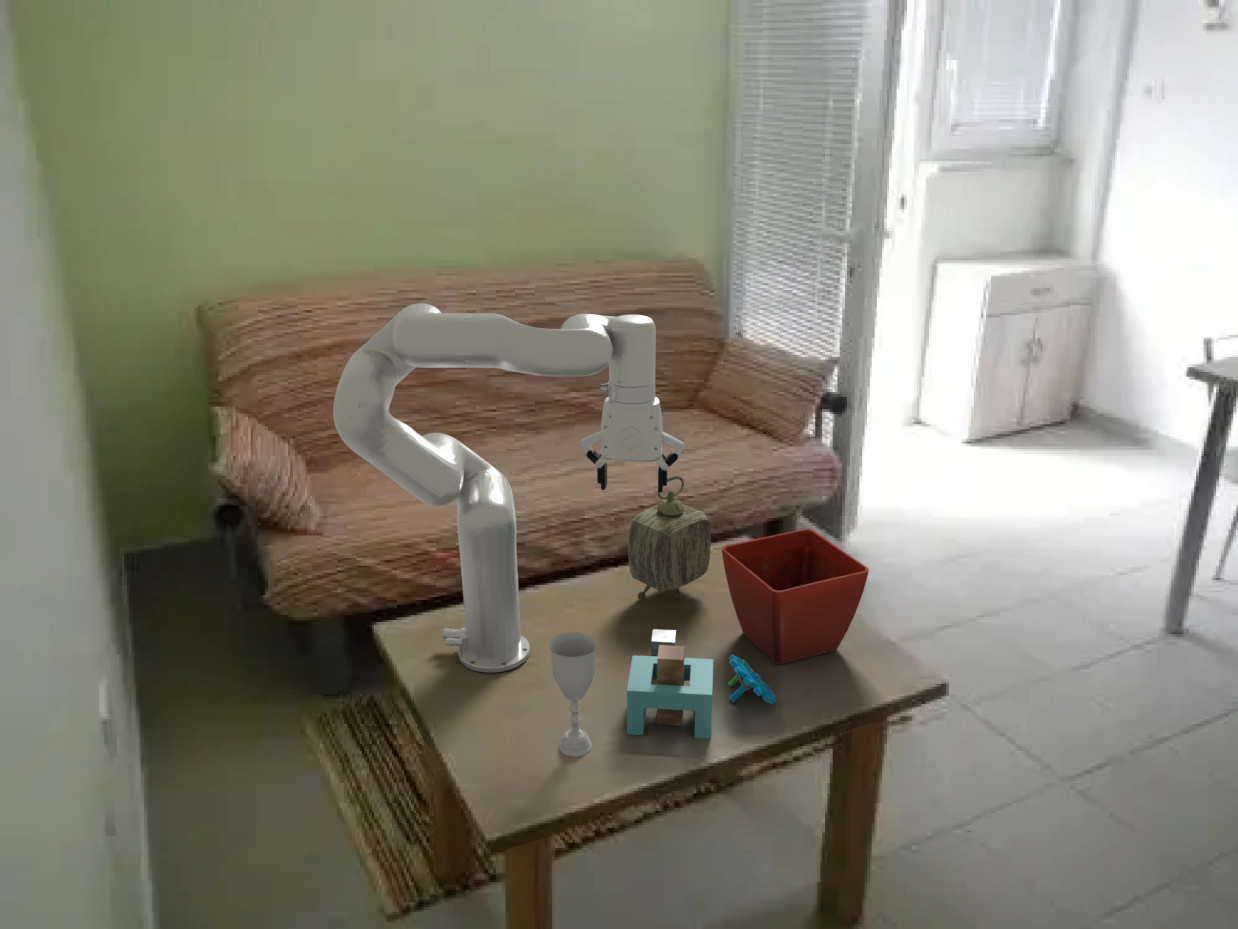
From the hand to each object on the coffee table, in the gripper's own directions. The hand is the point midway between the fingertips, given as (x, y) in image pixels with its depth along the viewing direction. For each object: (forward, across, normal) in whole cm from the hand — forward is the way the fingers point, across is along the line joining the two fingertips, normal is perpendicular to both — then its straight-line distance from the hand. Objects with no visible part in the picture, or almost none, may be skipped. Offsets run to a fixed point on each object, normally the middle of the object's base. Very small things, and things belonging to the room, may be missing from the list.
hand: (632, 488), depth 175 cm
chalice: (+31, -6, -30) cm, 44 cm away
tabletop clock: (+31, +6, +18) cm, 36 cm away
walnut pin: (+30, +8, -22) cm, 38 cm away
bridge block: (+30, +8, -22) cm, 38 cm away
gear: (+31, +21, -15) cm, 40 cm away
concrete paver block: (+30, +6, -7) cm, 32 cm away
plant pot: (+31, +28, +3) cm, 42 cm away
